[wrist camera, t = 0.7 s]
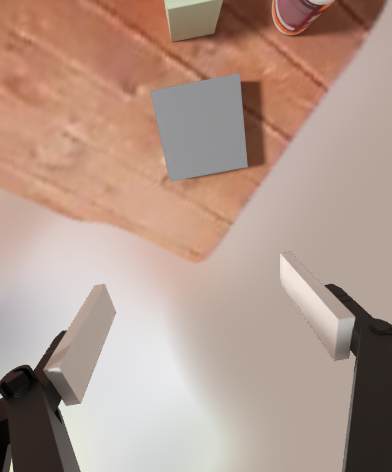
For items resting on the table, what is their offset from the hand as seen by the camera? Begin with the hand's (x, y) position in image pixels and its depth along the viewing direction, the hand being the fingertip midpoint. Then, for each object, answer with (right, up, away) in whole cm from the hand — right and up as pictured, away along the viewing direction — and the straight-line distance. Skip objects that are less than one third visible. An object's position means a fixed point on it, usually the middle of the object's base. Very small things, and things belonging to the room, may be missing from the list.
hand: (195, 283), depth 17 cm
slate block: (+1, +20, +19) cm, 27 cm away
